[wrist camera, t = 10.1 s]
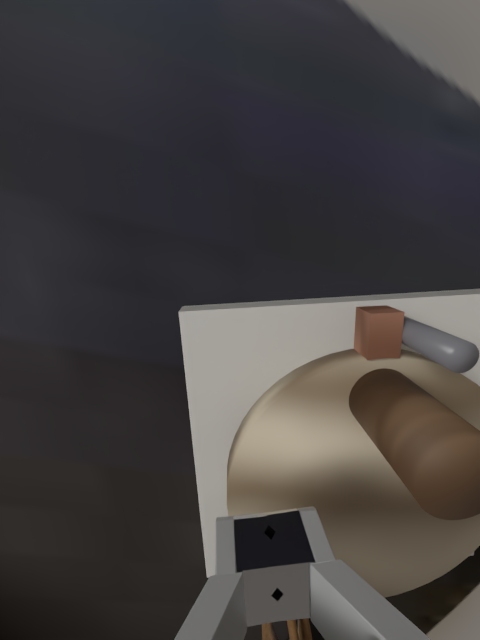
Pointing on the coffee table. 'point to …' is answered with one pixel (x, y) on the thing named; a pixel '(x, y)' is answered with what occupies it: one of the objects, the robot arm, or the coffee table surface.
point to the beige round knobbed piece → (369, 456)
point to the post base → (294, 363)
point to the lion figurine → (298, 636)
